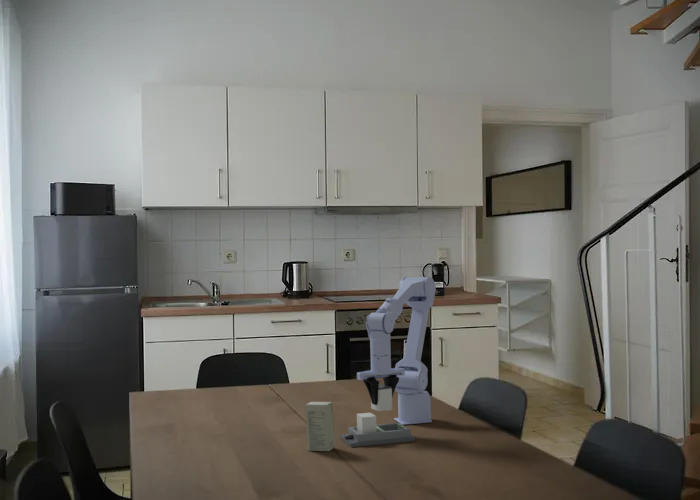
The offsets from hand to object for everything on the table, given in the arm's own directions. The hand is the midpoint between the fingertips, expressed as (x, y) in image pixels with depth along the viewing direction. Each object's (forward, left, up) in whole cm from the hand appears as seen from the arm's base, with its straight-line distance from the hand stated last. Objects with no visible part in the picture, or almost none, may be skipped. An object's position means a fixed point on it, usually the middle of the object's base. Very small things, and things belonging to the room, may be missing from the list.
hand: (381, 403), depth 214 cm
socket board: (+3, +6, -9) cm, 11 cm away
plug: (0, 0, -2) cm, 2 cm away
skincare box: (+20, +10, -9) cm, 24 cm away
